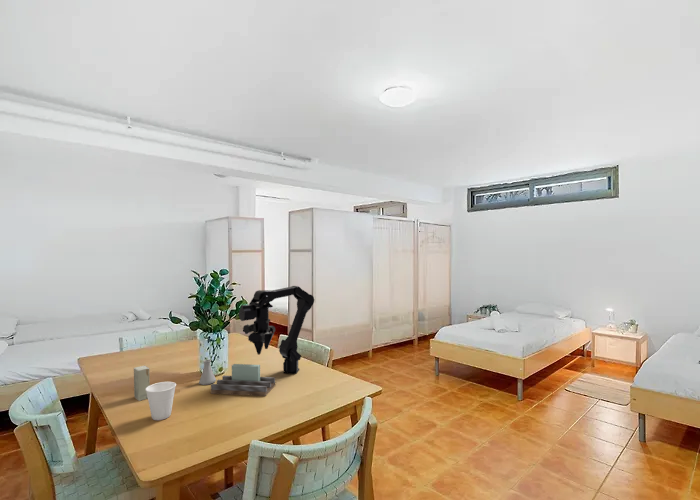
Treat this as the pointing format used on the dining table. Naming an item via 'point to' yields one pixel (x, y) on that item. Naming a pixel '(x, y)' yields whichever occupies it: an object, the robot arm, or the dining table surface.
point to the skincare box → (141, 382)
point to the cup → (161, 399)
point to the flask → (207, 374)
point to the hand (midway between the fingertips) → (262, 351)
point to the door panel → (246, 372)
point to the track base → (243, 386)
